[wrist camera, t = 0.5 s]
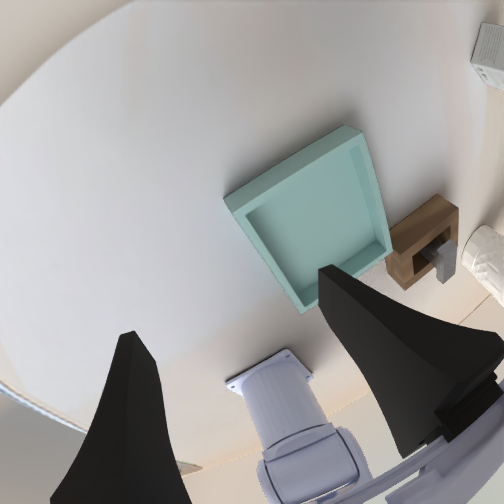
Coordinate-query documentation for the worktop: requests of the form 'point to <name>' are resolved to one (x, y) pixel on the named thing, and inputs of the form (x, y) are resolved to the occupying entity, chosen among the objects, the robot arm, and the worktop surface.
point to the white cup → (486, 260)
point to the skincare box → (490, 55)
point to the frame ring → (420, 239)
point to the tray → (315, 214)
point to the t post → (441, 258)
